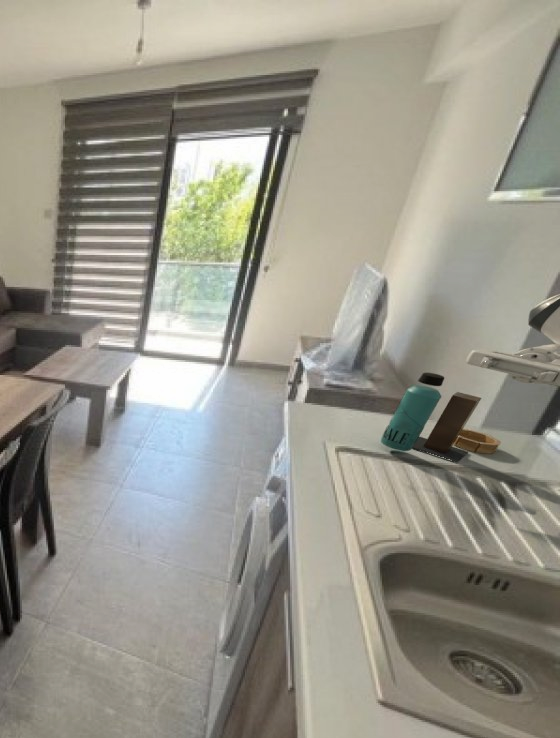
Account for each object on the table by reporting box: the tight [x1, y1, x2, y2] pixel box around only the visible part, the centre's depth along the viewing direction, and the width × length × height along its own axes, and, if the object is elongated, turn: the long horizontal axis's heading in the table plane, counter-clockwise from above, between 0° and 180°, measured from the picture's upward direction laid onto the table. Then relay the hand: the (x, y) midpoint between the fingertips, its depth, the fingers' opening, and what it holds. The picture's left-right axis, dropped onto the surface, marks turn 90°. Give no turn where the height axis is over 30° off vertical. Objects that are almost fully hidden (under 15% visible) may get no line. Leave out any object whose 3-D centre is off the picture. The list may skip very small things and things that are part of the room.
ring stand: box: [453, 428, 502, 455], centre depth 124 cm, size 9×9×2 cm
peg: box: [423, 391, 482, 454], centre depth 117 cm, size 4×4×14 cm
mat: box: [412, 435, 469, 463], centre depth 121 cm, size 10×10×1 cm
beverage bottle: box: [380, 372, 445, 452], centre depth 114 cm, size 6×7×20 cm
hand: (509, 370), depth 116 cm, fingers open, 8 cm apart
